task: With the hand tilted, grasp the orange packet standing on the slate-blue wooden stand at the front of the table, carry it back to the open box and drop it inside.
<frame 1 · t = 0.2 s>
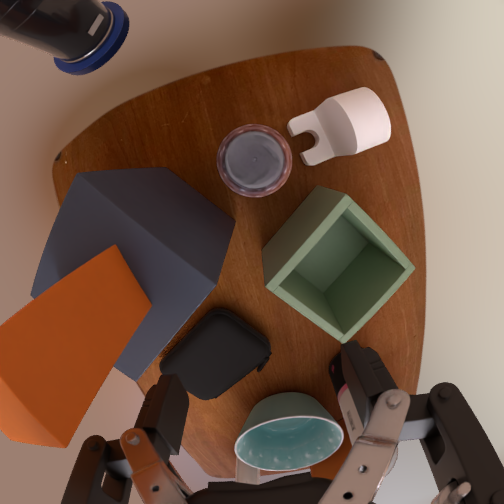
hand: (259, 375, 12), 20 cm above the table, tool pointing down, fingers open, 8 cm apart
open box: (320, 244, 31), on the table
beverage can: (348, 362, 37), on the table
bowl: (285, 408, 40), on the table
orange grey trash bin: (345, 428, 42), on the table
carrying case: (216, 354, 36), on the table
supplement bottle: (254, 162, 29), on the table
stand: (174, 228, 31), on the table
cable organizer: (334, 129, 28), on the table
photo printer: (248, 452, 44), on the table
packet: (101, 292, 15), point 17 cm above the table, touching stand
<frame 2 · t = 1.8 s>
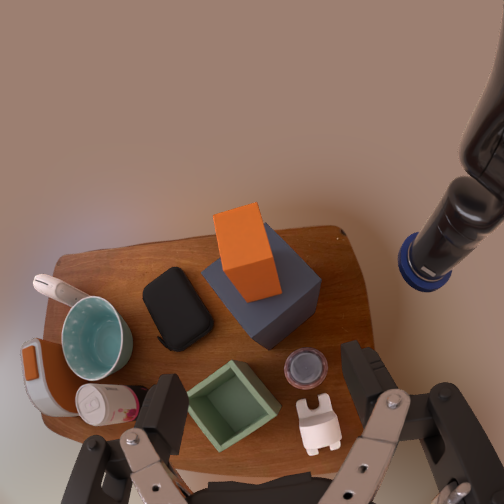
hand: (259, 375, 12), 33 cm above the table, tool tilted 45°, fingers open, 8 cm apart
open box: (241, 401, 41), on the table
beverage can: (142, 402, 43), on the table
bowl: (115, 344, 49), on the table
orange grey trash bin: (76, 382, 46), on the table
carrying case: (177, 311, 50), on the table
supplement bottle: (305, 369, 42), on the table
stand: (273, 309, 47), on the table
cable organizer: (317, 423, 37), on the table
photo printer: (78, 300, 55), on the table
packet: (259, 276, 31), point 17 cm above the table, touching stand
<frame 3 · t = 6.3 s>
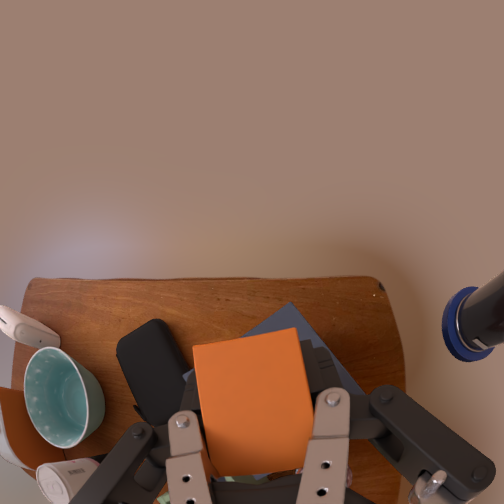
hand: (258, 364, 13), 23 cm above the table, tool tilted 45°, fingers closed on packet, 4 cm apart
open box: (235, 489, 26), on the table
beverage can: (118, 470, 29), on the table
bowl: (85, 400, 35), on the table
orange grey trash bin: (46, 431, 32), on the table
carrying case: (159, 375, 36), on the table
stand: (284, 388, 32), on the table
photo printer: (47, 337, 41), on the table
packet: (275, 395, 17), point 17 cm above the table, touching gripper, stand
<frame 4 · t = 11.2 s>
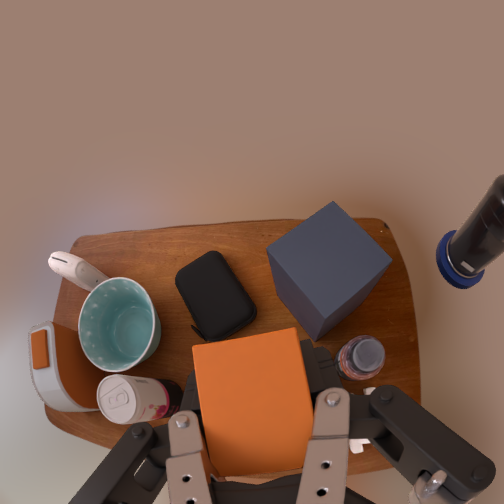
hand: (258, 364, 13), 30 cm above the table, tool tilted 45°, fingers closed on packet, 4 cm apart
beverage can: (167, 398, 40), on the table
bowl: (138, 333, 46), on the table
orange grey trash bin: (89, 374, 43), on the table
carrying case: (213, 299, 47), on the table
supplement bottle: (351, 362, 39), on the table
stand: (319, 299, 44), on the table
cable organizer: (362, 419, 34), on the table
photo printer: (96, 284, 52), on the table
packet: (275, 394, 17), point 24 cm above the table, touching gripper
when the fingers open (14 cm above the table, at t = 16.1 s): packet drops 6 cm, resting on open box.
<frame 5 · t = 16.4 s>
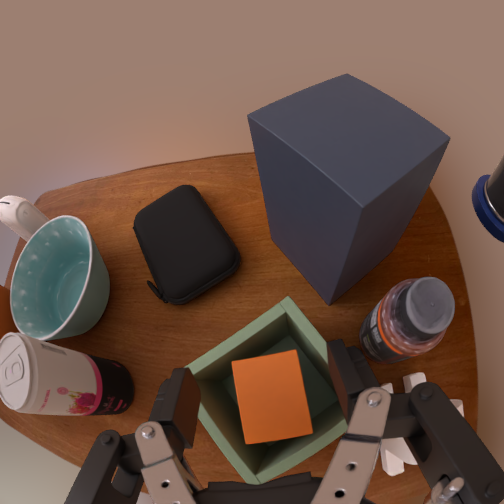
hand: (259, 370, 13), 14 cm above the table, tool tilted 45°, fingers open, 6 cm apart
open box: (280, 391, 24), on the table
beverage can: (114, 387, 26), on the table
bowl: (85, 297, 32), on the table
orange grey trash bin: (30, 352, 30), on the table
carrying case: (182, 247, 33), on the table
supplement bottle: (384, 336, 25), on the table
stand: (333, 244, 30), on the table
cable organizer: (401, 423, 20), on the table
photo printer: (50, 241, 38), on the table
packet: (280, 392, 23), point 1 cm above the table, touching open box
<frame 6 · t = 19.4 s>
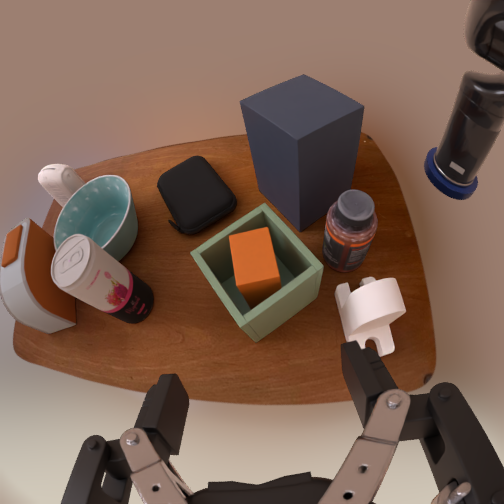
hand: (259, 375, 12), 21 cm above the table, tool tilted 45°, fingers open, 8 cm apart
open box: (264, 291, 36), on the table
beverage can: (136, 303, 38), on the table
bowl: (115, 240, 44), on the table
orange grey trash bin: (60, 291, 41), on the table
carrying case: (194, 199, 45), on the table
supplement bottle: (342, 254, 37), on the table
stand: (303, 193, 42), on the table
cable organizer: (362, 322, 32), on the table
photo printer: (81, 205, 50), on the table
packet: (264, 289, 35), point 1 cm above the table, touching open box
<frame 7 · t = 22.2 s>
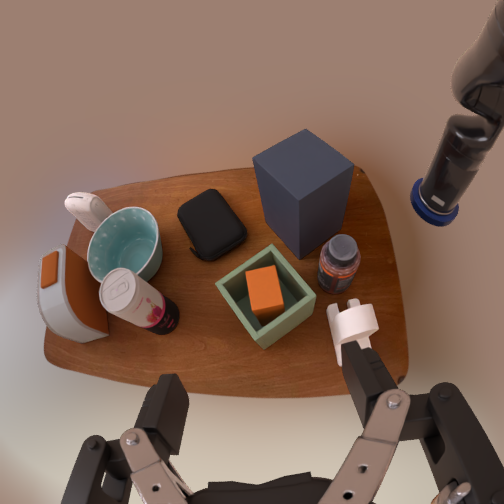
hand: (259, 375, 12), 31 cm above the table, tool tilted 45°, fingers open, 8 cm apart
open box: (271, 309, 45), on the table
beverage can: (164, 317, 47), on the table
bowl: (141, 262, 53), on the table
orange grey trash bin: (91, 306, 50), on the table
carrying case: (210, 228, 54), on the table
supplement bottle: (334, 278, 46), on the table
stand: (303, 225, 51), on the table
cable organizer: (347, 334, 41), on the table
photo printer: (105, 227, 59), on the table
packet: (270, 307, 44), point 1 cm above the table, touching open box
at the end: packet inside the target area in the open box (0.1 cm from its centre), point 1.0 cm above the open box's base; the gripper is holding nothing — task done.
